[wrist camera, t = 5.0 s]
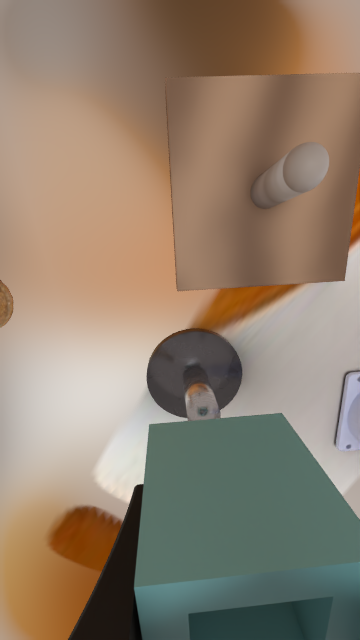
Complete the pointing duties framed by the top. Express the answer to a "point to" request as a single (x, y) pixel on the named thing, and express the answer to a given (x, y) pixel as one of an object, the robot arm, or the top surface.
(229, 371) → the round base with peg
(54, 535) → the top surface
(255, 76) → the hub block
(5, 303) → the sprinkles bottle
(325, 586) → the teal collar
